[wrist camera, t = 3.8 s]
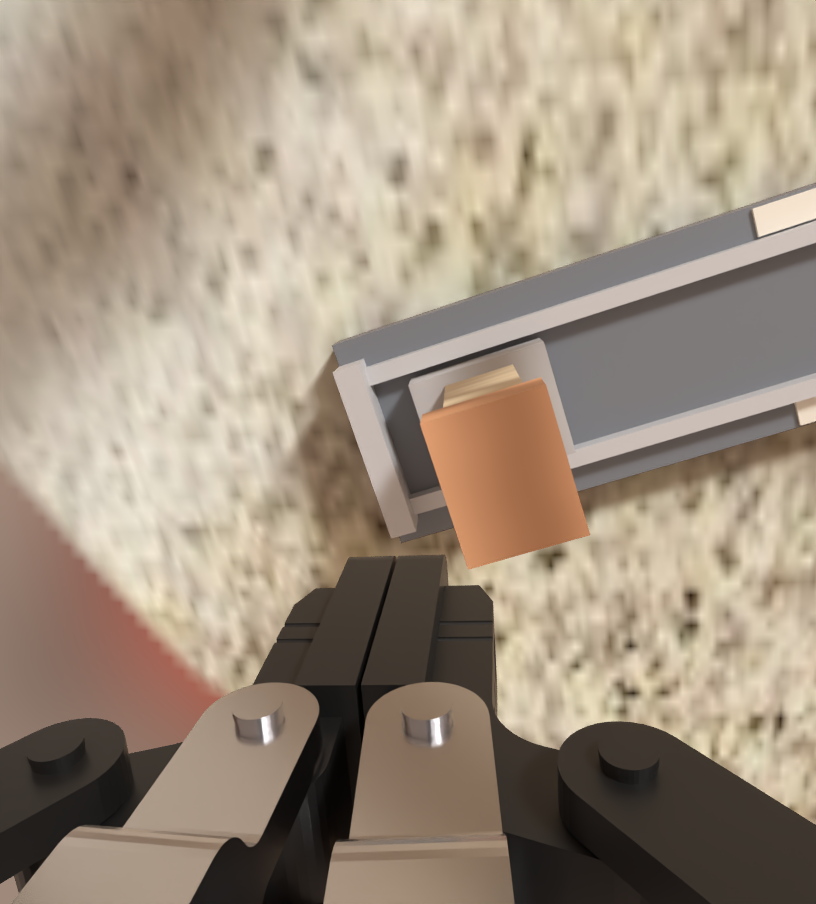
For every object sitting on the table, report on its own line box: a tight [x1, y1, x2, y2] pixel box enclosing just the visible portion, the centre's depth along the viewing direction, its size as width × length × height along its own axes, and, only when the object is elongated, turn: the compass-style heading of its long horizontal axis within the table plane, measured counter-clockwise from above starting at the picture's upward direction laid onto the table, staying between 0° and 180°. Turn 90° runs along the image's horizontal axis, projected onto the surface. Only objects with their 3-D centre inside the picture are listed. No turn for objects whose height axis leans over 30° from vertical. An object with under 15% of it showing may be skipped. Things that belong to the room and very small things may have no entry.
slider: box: [408, 338, 590, 569], centre depth 29 cm, size 6×5×12 cm
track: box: [332, 183, 816, 543], centre depth 34 cm, size 28×10×4 cm, turn 108°
